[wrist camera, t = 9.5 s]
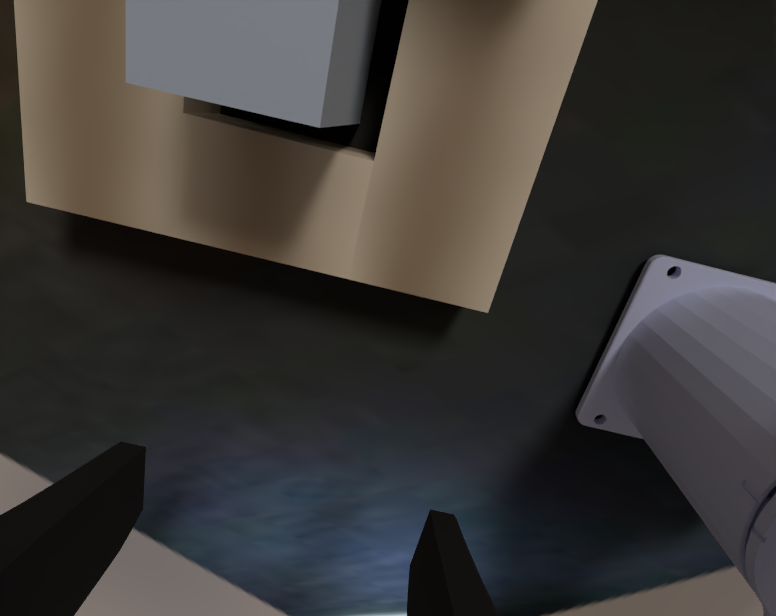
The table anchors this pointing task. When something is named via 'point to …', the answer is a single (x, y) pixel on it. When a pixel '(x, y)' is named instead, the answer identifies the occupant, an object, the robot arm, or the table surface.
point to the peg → (257, 54)
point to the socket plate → (311, 147)
